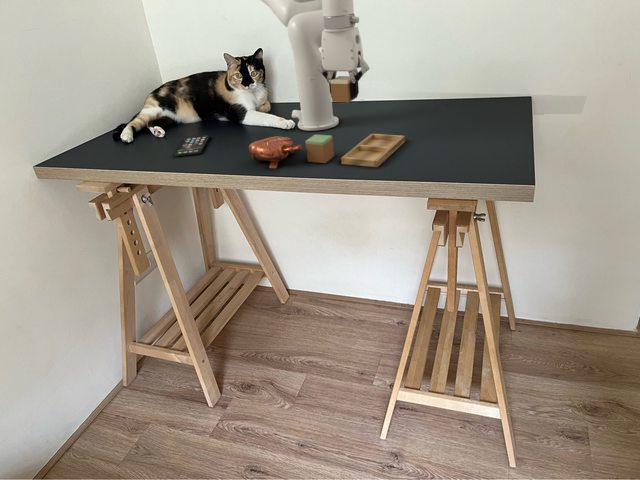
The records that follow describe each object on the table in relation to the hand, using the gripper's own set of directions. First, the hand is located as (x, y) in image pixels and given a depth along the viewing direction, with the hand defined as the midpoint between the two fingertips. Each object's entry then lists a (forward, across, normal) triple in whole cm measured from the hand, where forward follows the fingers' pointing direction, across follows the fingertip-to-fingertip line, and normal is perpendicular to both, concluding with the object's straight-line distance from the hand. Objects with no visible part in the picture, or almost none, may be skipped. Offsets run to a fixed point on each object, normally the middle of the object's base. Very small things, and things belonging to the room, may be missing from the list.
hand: (344, 96), depth 130 cm
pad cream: (+1, 0, 0) cm, 1 cm away
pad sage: (+12, 0, +15) cm, 19 cm away
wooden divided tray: (+12, -11, +8) cm, 18 cm away
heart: (+12, +11, +19) cm, 25 cm away
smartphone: (+12, +43, +16) cm, 47 cm away
